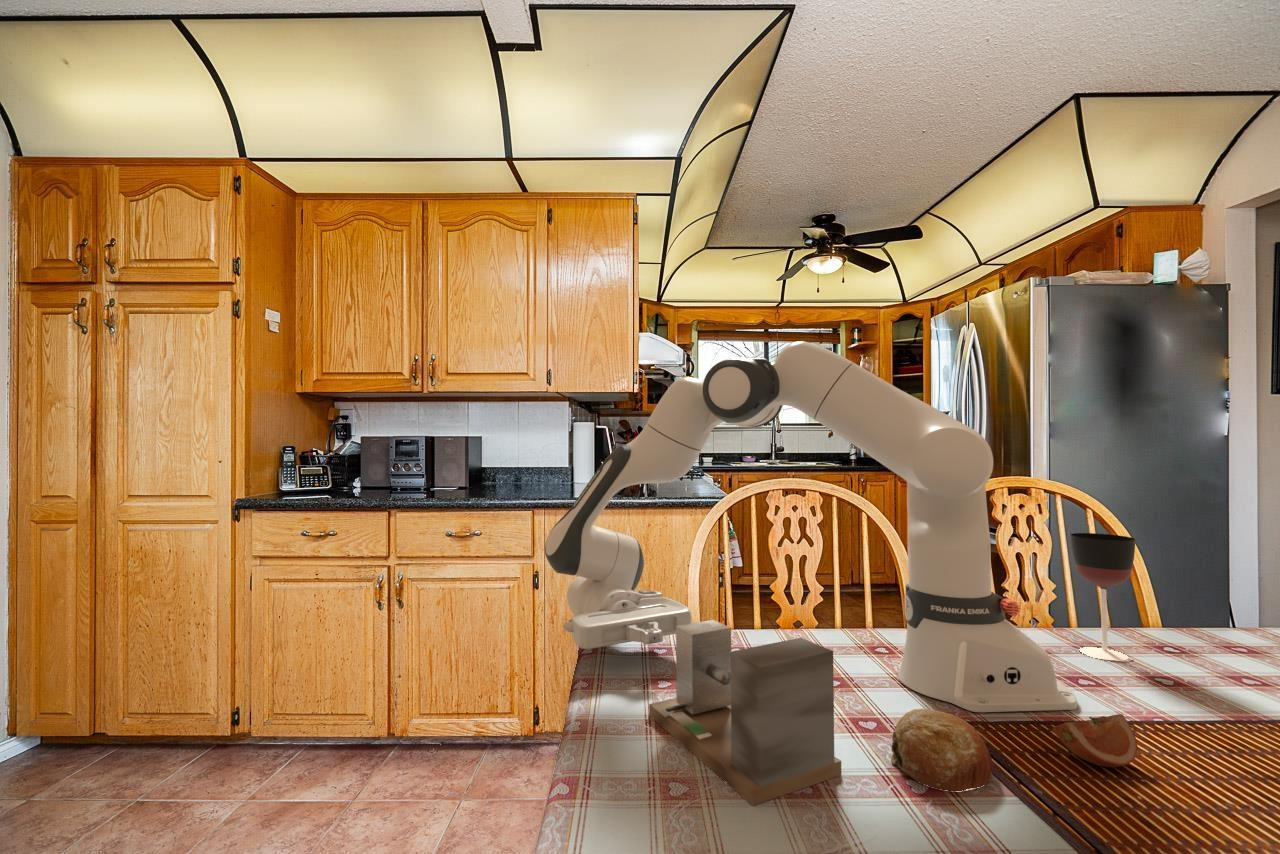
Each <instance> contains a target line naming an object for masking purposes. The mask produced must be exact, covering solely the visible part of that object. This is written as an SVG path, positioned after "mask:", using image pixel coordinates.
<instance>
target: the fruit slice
mask: <svg viewBox="0 0 1280 854" xmlns="http://www.w3.org/2000/svg"><path fill="white" fill-rule="evenodd" d="M1052 731H1053V733H1054V734H1055V735H1056V737H1057V738H1058V739H1059V740H1060V742H1062V743H1063V745H1064V746H1065V747H1066V748H1067V749H1068V750H1069V751H1071V752H1072V753H1073V754H1074V755H1076V756H1077V757H1079V758H1080V759H1081V760H1084V761H1086V762H1088V763H1090V762H1091V764H1092V763H1094V764H1093V765H1096V764H1097V765H1096V766H1100V767H1104V766H1105V767H1104V768H1119V767H1124V766H1125V767H1126V766H1127V765H1129V764H1130V763H1132V762H1133V761H1134V760H1135V759H1136V757H1137V754H1138V748H1139V747H1138V740H1137V738H1136V735H1135V732H1134V729H1132V726H1131V725H1130V723H1129V721H1128V720H1127V718H1126V717H1125V715H1124V714H1118V713H1117V714H1112V715H1109V716H1105V715H1103V716H1098V717H1094V716H1093V717H1092V716H1089V717H1088V719H1087V720H1085V719H1084V720H1083V719H1082V720H1077V721H1076V720H1075V721H1074V720H1072V721H1065V722H1064V723H1061V724H1059V725H1056V726H1053V727H1052Z"/></svg>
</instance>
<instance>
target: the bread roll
mask: <svg viewBox="0 0 1280 854" xmlns="http://www.w3.org/2000/svg"><path fill="white" fill-rule="evenodd" d="M891 741H892V743H891V751H892V756H891V759H890V760H891V761H890V762H891V764H892V765H894V766H896V767H897V768H898V769H900V770H901V771H902V772H903V774H906V775H907V776H908V775H909V776H908V777H910V778H912V779H913V778H914V779H915V780H916V781H918V782H920V783H922V784H925V785H928V786H930V787H934V788H937V789H942V790H948V791H962V790H963V791H964V790H966V789H970V788H977V787H981V786H983V785H985V786H986V785H987V784H988V782H989V781H990V780H991V778H992V773H993V770H994V769H993V768H994V762H993V760H992V756H991V753H990V752H991V750H990V747H989V745H988V742H987V741H986V740H984V739H983V737H981V735H980V734H979V733H978V731H977V730H976V729H975V728H974V726H972V725H971V724H970V723H968V722H967V721H966V720H965V719H964V718H961V717H959V716H957V715H956V714H955V715H954V714H953V713H948V712H946V711H939V710H934V709H928V708H918V709H912V710H910V711H907V712H906V713H905V714H904V715H903V716H901V718H900V719H899V721H898V722H897V724H896V725H895V727H894V730H893V732H892V739H891ZM914 779H913V780H914ZM915 780H914V781H915ZM916 781H915V782H916ZM918 782H917V783H918ZM920 783H919V784H920ZM922 784H921V785H922ZM981 788H982V787H981Z"/></svg>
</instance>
